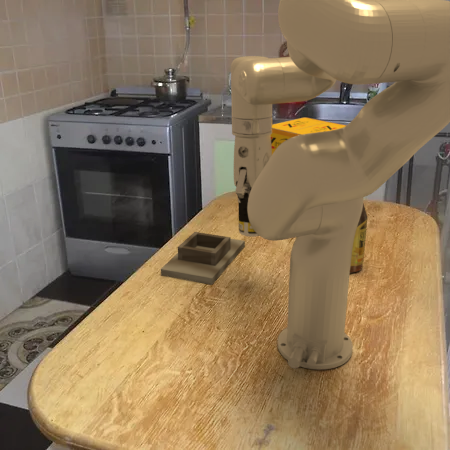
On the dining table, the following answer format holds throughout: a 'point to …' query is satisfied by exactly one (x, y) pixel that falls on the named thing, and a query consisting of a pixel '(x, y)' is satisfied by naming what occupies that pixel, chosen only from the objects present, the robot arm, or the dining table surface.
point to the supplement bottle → (244, 226)
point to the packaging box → (299, 129)
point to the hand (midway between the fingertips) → (252, 215)
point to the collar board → (203, 257)
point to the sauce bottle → (359, 243)
